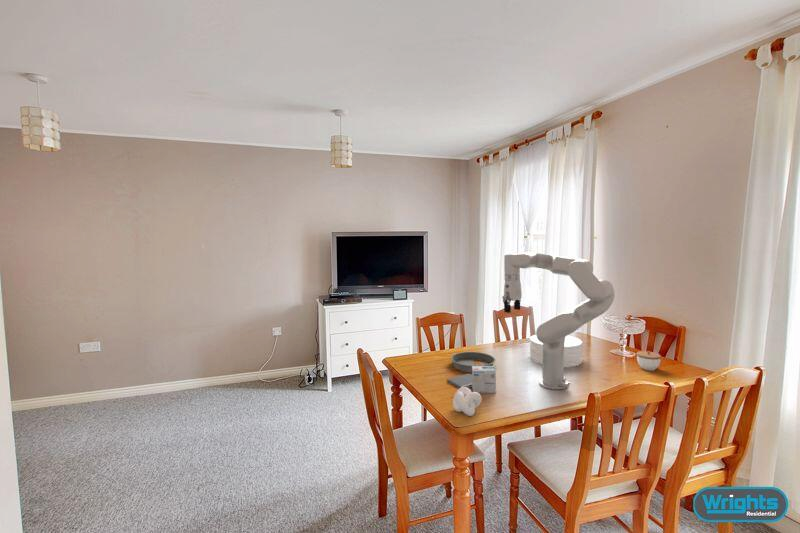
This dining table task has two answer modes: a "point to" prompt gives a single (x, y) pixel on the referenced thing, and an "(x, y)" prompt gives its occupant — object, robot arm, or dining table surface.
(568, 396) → the dining table surface
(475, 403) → the white decorative knot
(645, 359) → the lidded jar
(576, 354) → the plate stack
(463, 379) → the mat
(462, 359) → the cake pan
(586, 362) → the dining table surface
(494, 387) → the light bulb box
